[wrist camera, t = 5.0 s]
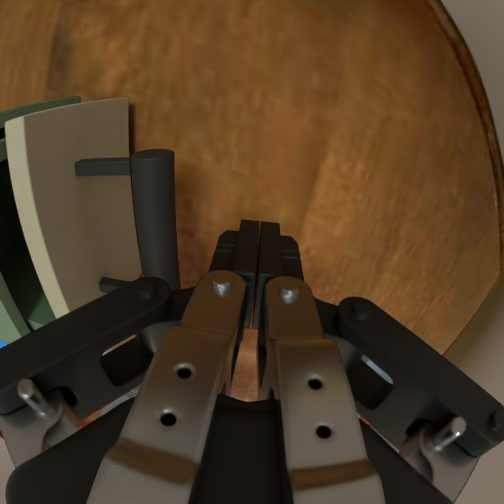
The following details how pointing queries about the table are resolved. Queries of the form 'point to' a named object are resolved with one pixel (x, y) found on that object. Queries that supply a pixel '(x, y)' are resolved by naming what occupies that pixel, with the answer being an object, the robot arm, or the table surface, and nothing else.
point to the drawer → (81, 209)
